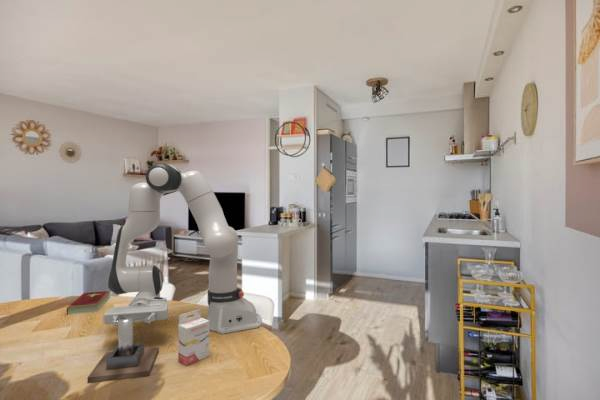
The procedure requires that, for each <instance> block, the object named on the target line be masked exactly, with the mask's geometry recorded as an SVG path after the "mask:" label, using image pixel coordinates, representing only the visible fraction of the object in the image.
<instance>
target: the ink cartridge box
mask: <svg viewBox="0 0 600 400" xmlns="http://www.w3.org/2000/svg"><path fill="white" fill-rule="evenodd" d="M190 315H193V316H190ZM189 316H190V317H189ZM177 329H178V330H177V331H178V332H177V333H178V334H177V336H178V337H177V340H178V341H177V349H178V350H177V351H178V352H177V354H178V356H177V357H178V362H180V363H181V364H183V365H184V366H186V367H187V366H190V365H191V364H194V363H196V362H198V361H200V360H203V359H205V358H207V356H208V357H209V356H210V330H209V320H207V318H204V317H202V309H201V308H199V309H195V310H191V311H188V312H186V313H185V312H184V313H182V314H179V316H178V326H177Z"/></svg>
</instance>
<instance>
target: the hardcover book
mask: <svg viewBox="0 0 600 400" xmlns="http://www.w3.org/2000/svg"><path fill="white" fill-rule="evenodd" d="M110 293H111V290H101V291H89V292H83V293H82V294H81V295H80V296H79V297H77V298H76V299H75V300H73V302H71V303H70V304H69V305H68V306H67V307H66V315H67V316H68V314H69V315H79V314H80V315H81V314H89V313H90V312H91V313H97V312H99V310H100V309H101V308H102V307H103V306H104V305H105V304H106V303H107V301H108V300H109V299H110V298H111V297H110Z"/></svg>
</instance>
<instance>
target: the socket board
mask: <svg viewBox="0 0 600 400" xmlns="http://www.w3.org/2000/svg"><path fill="white" fill-rule="evenodd" d="M159 349H160V348H159V346H156V347H147V348H146V347H144V354H143V357H142V359H141V361H140V363H139V365H138V366H137V367H128V368H119V369H110V370H106V359H107V358H108V357H109V355H110V354H111V352H112V351H108V352H107V351H106V352H105V353H104V354H103V356H102V357H101V358H100V360H99V361H98V363H97V364H96V365H95V367H93V369H92V371H91V372H90V374H89V375H88V377H87V379H86V380H87V383H88V384H91V383H100V382H109V381H118V380H125V379H133V378H142V377H143V378H144V377H149V376H150V374H151V372H152V370H153V367H154V364H155V362H156V359H157V357H158V355H159V352H160V350H159Z"/></svg>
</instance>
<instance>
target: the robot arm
mask: <svg viewBox="0 0 600 400" xmlns="http://www.w3.org/2000/svg"><path fill="white" fill-rule="evenodd" d="M177 192H179V193H180V194H181V195H182V197H183V199H184V200H185V203H186V205H187V206H188V208H189V210H190V212H191V214H192V217H193V219H194V220H195V223H196V224H197V228H198V231H199V234H200V236H201V239H202V241H203V243H204V244H203V245H204V247H205V251H206V253H207V254H208V255H209V257H210V258H209V264H208V265H209V266H208V289H207V293H206V294H207V297H206V298H207V305H208V307H207V315H206V320H209V331H213V332H217V333H219V334H223V335H224V334H229V333H235V332H239V331H245V330H246V331H248V330H251V329H256V328H260V327H262V325H263V318H262V316H261V315H260V314H259V313H257V309H256V306H255V305H254V304H253V302H251V301H250V300H248V299H247V298H246V297H244V291H243V290H242V288H241V287H238V259H239V258H238V256H239V254H238V252H239V251H238V250H239V236H238V233H237V231H236V230H235V229H234V227H232V226H229V224H228V222H227V219H226V217H225V215H224V211H223V208H222V206H221V203H220V202H219V200H218V198H217V196H216V194H215V192H214V190H213V189H212V187H211V185H210V184H209V182H208V180H207V179H206V178H205V177H204V175H203V174H202V173H201V172H200V171H199V170H188V171H186V172H182V171H181V170H180V169H179V168H177V167H175V166H174V165H172V164H169V163H164V162H159V163H154V164H153V165H150V167H149V168H148V169H147V170H146V174H145V182H138V183H136V184H133V185H132V187H131V189H130V192H129V197H128V215H127V219H126V221H125V223H124V224H123V225H120V226H119V229H118V232H117V235H116V241H115V246H114V251H113V255H112V256H113V257H112V263H111V268H110V271H109V276H108V279H107V287H108V289H109V291H110V292H112V293H114V294H116V295H118V296H119V295H123V294H128V293H137V294H136V295H135V296H134V297H133V299H131V301H129V304H128V305H124V306H114V307H111V308H110V309H108V310H107V311H105V312H104V313H103V315H102V316H103V317H102V320H103V321H102V322H103V324H104V325H113V327H118V320H119V319H120V318H123V317H132V318H133V323H140V322H144V324H146V325H147V324H151V322H154V321H162V320H167V319H168V318H169V305H168V301H167V298H166V297H161V291H162V289H163V286H164V285H163V284H164V277H163V273H162V271H161V269H160V268H159V267H158V266H156V265H141V266H140V265H139V266H127V265H126V262H127V255H128V251H129V249H128V248H129V245H130V243H132V242H133V241H134V240H137V239H138V238H141V237H143V236H145V235H148V234H150V233H152V232H154V230H156V228H158V226H159V225H160V220H161V198H162V197H163V196H166V195H170V194H173V193H177Z"/></svg>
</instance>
